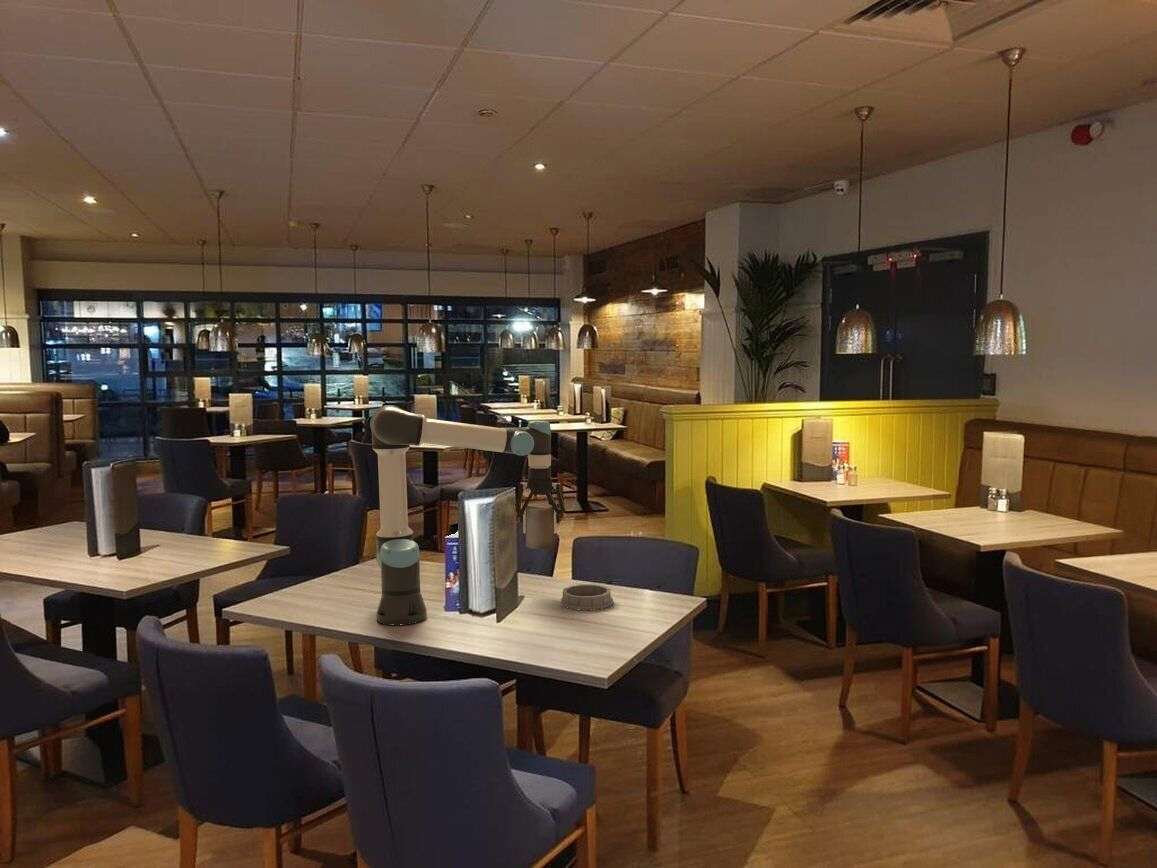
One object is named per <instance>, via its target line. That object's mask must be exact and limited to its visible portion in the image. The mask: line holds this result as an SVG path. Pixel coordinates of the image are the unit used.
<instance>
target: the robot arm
mask: <svg viewBox="0 0 1157 868" xmlns="http://www.w3.org/2000/svg"><path fill="white" fill-rule="evenodd" d="M527 423H528V424H527V426H525V427H524V426H523V427H494V426H486V425H479V424H472V423H471V424H470V423H463V422H457V421H456V422H455V421H447V420H442V419H440V420H439V419H433V418H427V417H426V416H425V415H424V414H420V413H414V412H409V411H407V410H404V409H403V408H401V407H399V406H397V405H395V404H394V405H392V404H391V405H390V404H389V405H383V406H380V407H379V408H377V409H376V410H375V411H374V412H373V414H372V415H371V418H370V421H369V427H370V430H371V442H372V450H373V451H374V452H375V453H376V454H377V465H378V466H377V467H378V470H377V471H378V492H379V493H378V495H379V513H380V515H379V516H380V518H379V519H380V520H379V521H380V529H379V530H378V531H377V532H376V534H375V537H376V541H375V542H376V548H375V560H376V562H377V564H378V566H379V569H380V577H381V578H380V582H381V584H380V585H381V596H380V600H379V603H378V607H377V611H376V621H377V620H378V621H379V622H381V623H384V624H383V625H385V624H394V625H393V626H401V625H400V624H409V623H414V624H416V623H415V622H418V623H420V622H422V621H421V620H423V619H424V620H426V619H427V617H428V615H427V614H428V612H427V611H428V610H427V606H426V604H425V601H424V598H423V595H422V593H421V571H420V567H421V566H420V565H421V564H420V562H421V561H420V558H421V557H420V556H421V551H420V548H419V545H418V543H417V542H416V541H414V530H412V528H410V527H409V517H408V516H409V514H408V489H407V471H406V470H407V466H406V464H407V462H406V453H407V451H408V450H409V449H410V448H411V446H415V447H416V446H418V447H419V446H421V445H422V444H426V445H427V444H430V445H436V446H437V445H438V446H445V447H446V446H447V447H455V448H463V449H471V450H472V449H473V450H481V451H489V452H497V453H505V454H514V455H516V456H527V457H528V481H527V482H520V483H519V484H518V485H519V491H518V495H517V500H516V503H515V506H516V513H519V521H520V524H522V525H523V527H522V532H523V534H526V507H527V506H528V505H530V504H529V503H530V502H531V500H532V498H533V496H535V495H537V496H539V495H541V496H543V495H544V496H546V498H547V499H548V500H547V501H549V503H550V505H552V507H553V509H554V535H555V534H557V532H558V530H557V528H558V524H560V522H561V513H562V514H563V513H565V511H566V507H565V503H564V499H563V495H562V492H561V483H560V482H552V468H551V465H552V454H551V453H552V451H551V449H552V448H551V446H552V444H551V443H552V442H551V441H552V433H551V432H552V431H551V423H550V422H549V421H547V420H529V421H528V422H527ZM527 487H528V488H529V490H530V492H529V494H528V496H527V498H526V500H525V501H524V503H523V505H522V506H521V503H522V499H523V496H524V491H525V489H527ZM552 487H553V489H554V490H555V492H556V497H557V501H558V504H559V507H558V504H557V503H556V501H555V499H554V498H553V495H552V494H551V492H550V489H551V488H552ZM520 506H521V508H520ZM425 618H426V619H425ZM424 620H423V621H424ZM419 621H420V622H419ZM379 622H378V623H379ZM381 623H380V624H381ZM409 625H410V624H409Z"/></svg>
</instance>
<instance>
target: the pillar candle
mask: <svg viewBox="0 0 1157 868" xmlns="http://www.w3.org/2000/svg"><path fill="white" fill-rule="evenodd" d="M525 513H526V533H525V541H526V544H525V545H526V546H525V547H526V548H529V549H532V550H546V549H551V548H554V547H556V546H555V534H554V513H555V510H554V509H553V507H552V505H551V504H548V503H535V504H528V505H527V507H526V509H525Z"/></svg>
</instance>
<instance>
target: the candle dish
mask: <svg viewBox="0 0 1157 868" xmlns="http://www.w3.org/2000/svg"><path fill="white" fill-rule="evenodd" d="M611 590H612V589H611V588H610V587H607V586H605V585H600V584H596V583H595V584H594V583H591V584H589V583H586V584H585V583H582V584H574V585H573V584H572V585H569V586H568V587H567V586H566V587H565V588H563V590H562V597H561V598H560V605H561V604H562V605H563V606H565V607H564V608H566V607H568V608H567V609H569V608H572V609H571V610H573V609H580V610H579V611H585V610H587V611H594V610H593V609H599V610H602V609H601V608H604V609H606V608H605V607H607V608H609V607H608V606H610V605H611V606H612V605H614V599H613V597H612V595H611V594H612V593H611ZM562 605H561V606H562ZM563 606H562V607H563ZM611 606H610V607H611ZM591 609H592V610H591Z"/></svg>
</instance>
